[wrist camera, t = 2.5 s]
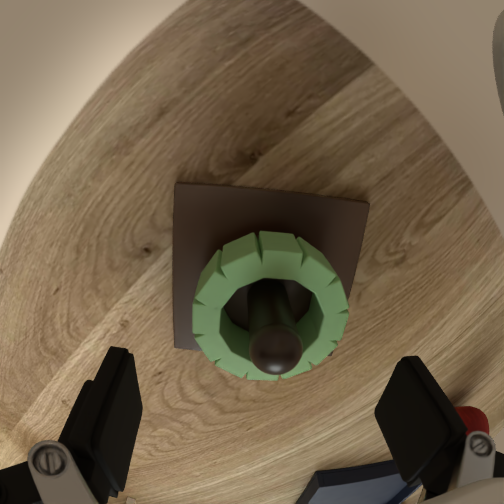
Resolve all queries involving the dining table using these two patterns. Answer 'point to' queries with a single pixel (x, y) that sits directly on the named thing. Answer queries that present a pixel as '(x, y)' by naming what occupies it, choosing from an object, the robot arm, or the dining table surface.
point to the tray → (358, 486)
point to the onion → (473, 419)
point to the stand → (266, 289)
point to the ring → (253, 269)
